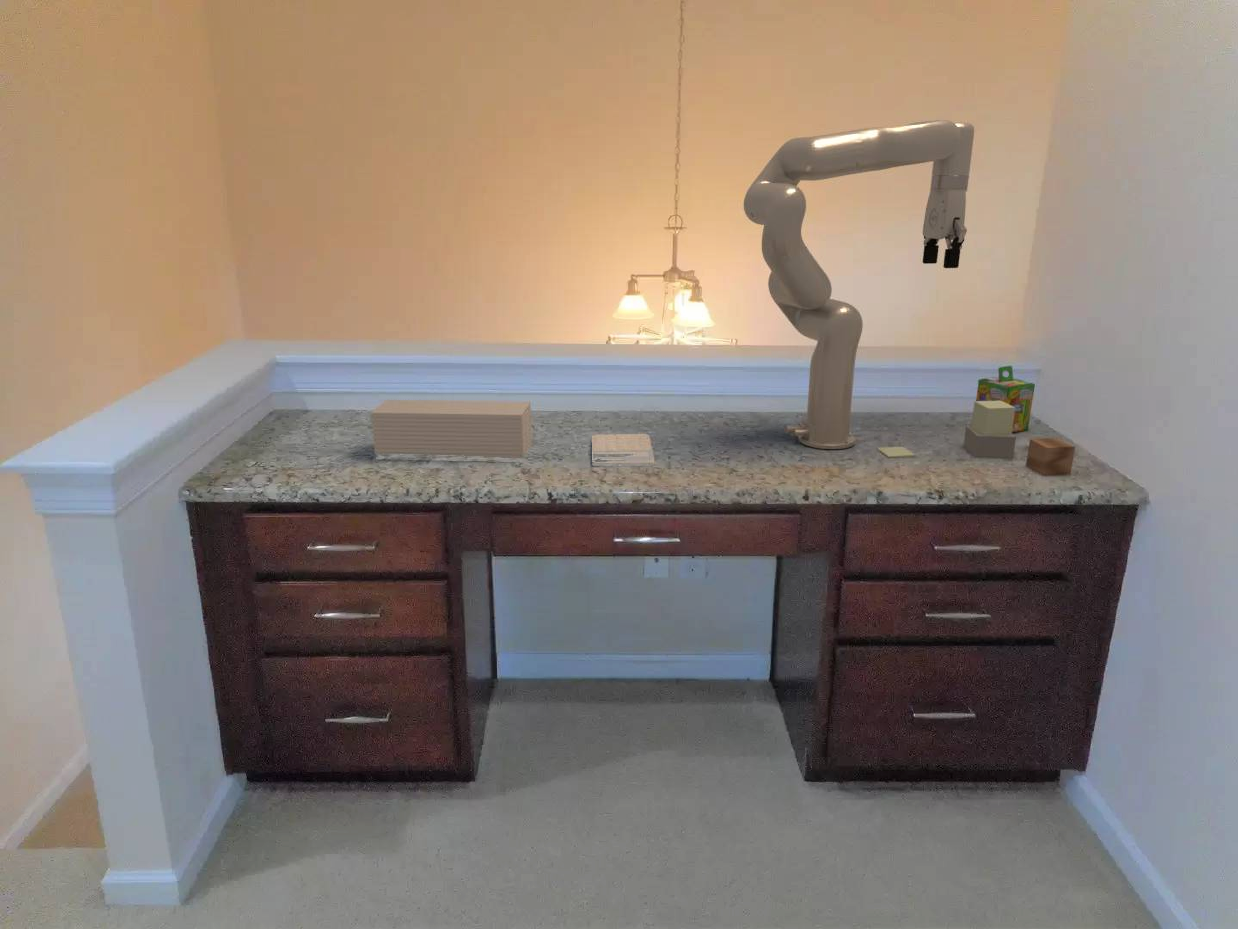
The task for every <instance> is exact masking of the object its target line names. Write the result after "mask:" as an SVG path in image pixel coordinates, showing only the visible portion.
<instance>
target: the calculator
mask: <svg viewBox="0 0 1238 929" xmlns="http://www.w3.org/2000/svg"><path fill="white" fill-rule="evenodd" d="M616 438H617V439H616ZM647 438H648V439H647ZM591 442H592V461H593V460H597V459H601V460H626V461H607V462H595V461H593V462H595V463H641V464H643V463H644V464H649V463H650V464H651V463H654V462H655V457H654V451H653V447H652V446H653V445H652V442H651V437H650V435H649V434H647V433H637V434H635V433H627V434H624V433H618V434H612V433H611V434H610V433H609V434H608V433H607V434H600V433H599V434H594V435H592V436H591ZM593 454H633V455H631V456H626V457H595V458H593ZM654 464H655V463H654Z"/></svg>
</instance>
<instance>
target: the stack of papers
mask: <svg viewBox="0 0 1238 929" xmlns="http://www.w3.org/2000/svg"><path fill="white" fill-rule="evenodd" d="M531 410H532V409H531V401H509V400H508V401H505V400H504V401H503V400H501V401H499V400H498V401H495V400H494V401H493V400H485V401H484V400H434V399H433V400H432V399H431V400H429V399H426V400H425V399H423V400H421V399H419V400H418V399H387V400H385V401H384V402H382V403H381V404H380V405H379V406H378V407H376V408H375V409H374V410H372V411H371V412H370V417H371V425H372V426H371V429H372V437H373V447H374V455H375V454H426V455H427V454H428V455H456V456H457V455H458V456H461V455H464V456H481V457H482V456H483V457H504V458H505V457H507V458H524V456H525V454H526V453H527V451H528V449H529V448H530V446H531V445H533V441H532V439H533V438H532V434H533V433H532V412H531Z"/></svg>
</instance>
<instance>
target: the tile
mask: <svg viewBox="0 0 1238 929" xmlns="http://www.w3.org/2000/svg"><path fill="white" fill-rule="evenodd" d="M876 450H877V451H878V452H880V453H881V454H882V455H883V456H885V457H886V458H888V459H895V458H896V459H897V458H898V459H899V458H915V457H916V454H915V453H913V452H912V451H910V450H908V448H906V447H904V446H891V447H890V446H889V447H887V446H886V447H885V446H884V447H876Z"/></svg>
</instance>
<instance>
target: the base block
mask: <svg viewBox="0 0 1238 929" xmlns="http://www.w3.org/2000/svg"><path fill="white" fill-rule="evenodd" d="M1016 439H1017V436H1016V435H1014V434H1013V433H1012V434H1011V435H991V436H984V435H983V434H981V433H979V432H977V431H976V430H974V429H972V428H971V425H966V426H965V432H964V439H963V447H964V448H965V450H967V452H969V454H971V456H972V455H973V456H974V457H973V456H972V457H973V458H980V457H983V459H985V458H984V457H986V459H987V458H989V459H1014V453H1015V444H1016V441H1017V440H1016Z"/></svg>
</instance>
